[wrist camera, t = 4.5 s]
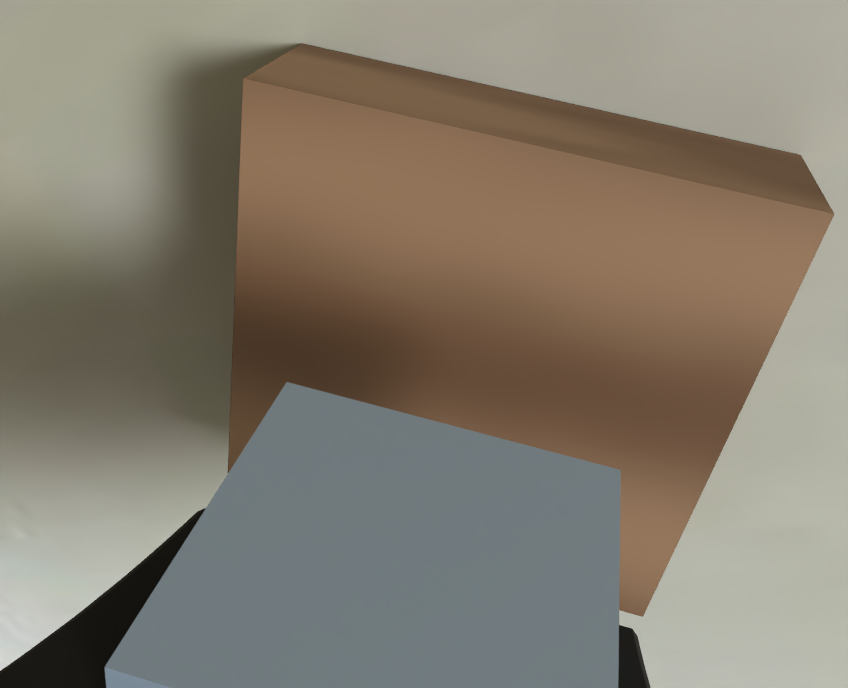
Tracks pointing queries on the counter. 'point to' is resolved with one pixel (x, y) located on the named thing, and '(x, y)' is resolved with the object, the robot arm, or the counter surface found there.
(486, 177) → the walnut base
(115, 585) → the robot arm
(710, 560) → the counter surface
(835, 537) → the counter surface
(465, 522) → the slate-blue cube
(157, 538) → the counter surface
